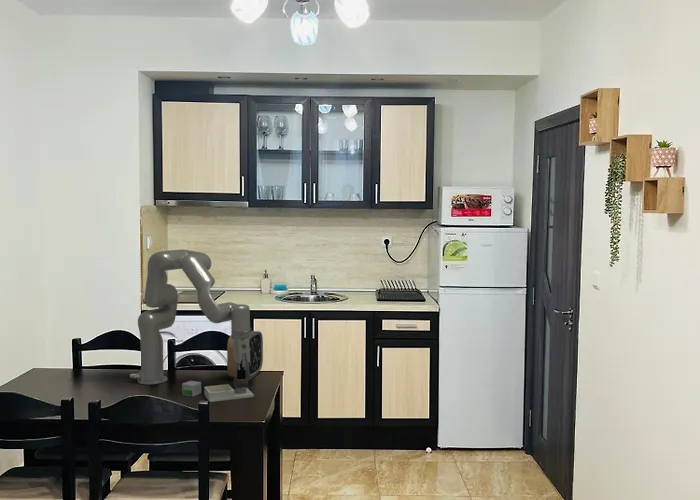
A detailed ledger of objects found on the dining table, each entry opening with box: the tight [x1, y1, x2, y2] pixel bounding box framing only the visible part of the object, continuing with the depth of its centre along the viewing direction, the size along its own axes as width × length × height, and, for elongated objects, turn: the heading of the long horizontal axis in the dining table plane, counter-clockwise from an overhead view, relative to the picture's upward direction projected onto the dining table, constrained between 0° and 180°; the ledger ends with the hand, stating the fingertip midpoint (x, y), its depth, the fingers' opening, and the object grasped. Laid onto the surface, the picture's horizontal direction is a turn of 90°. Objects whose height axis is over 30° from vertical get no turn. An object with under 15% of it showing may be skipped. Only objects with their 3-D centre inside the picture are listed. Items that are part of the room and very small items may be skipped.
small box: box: [181, 380, 202, 397], centre depth 275 cm, size 6×6×5 cm
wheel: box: [232, 378, 249, 387], centre depth 274 cm, size 6×6×5 cm
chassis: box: [203, 383, 255, 403], centre depth 272 cm, size 18×10×4 cm, turn 113°
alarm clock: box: [226, 327, 264, 381], centre depth 302 cm, size 21×10×22 cm, turn 168°
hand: (241, 378), depth 274 cm, fingers closed
